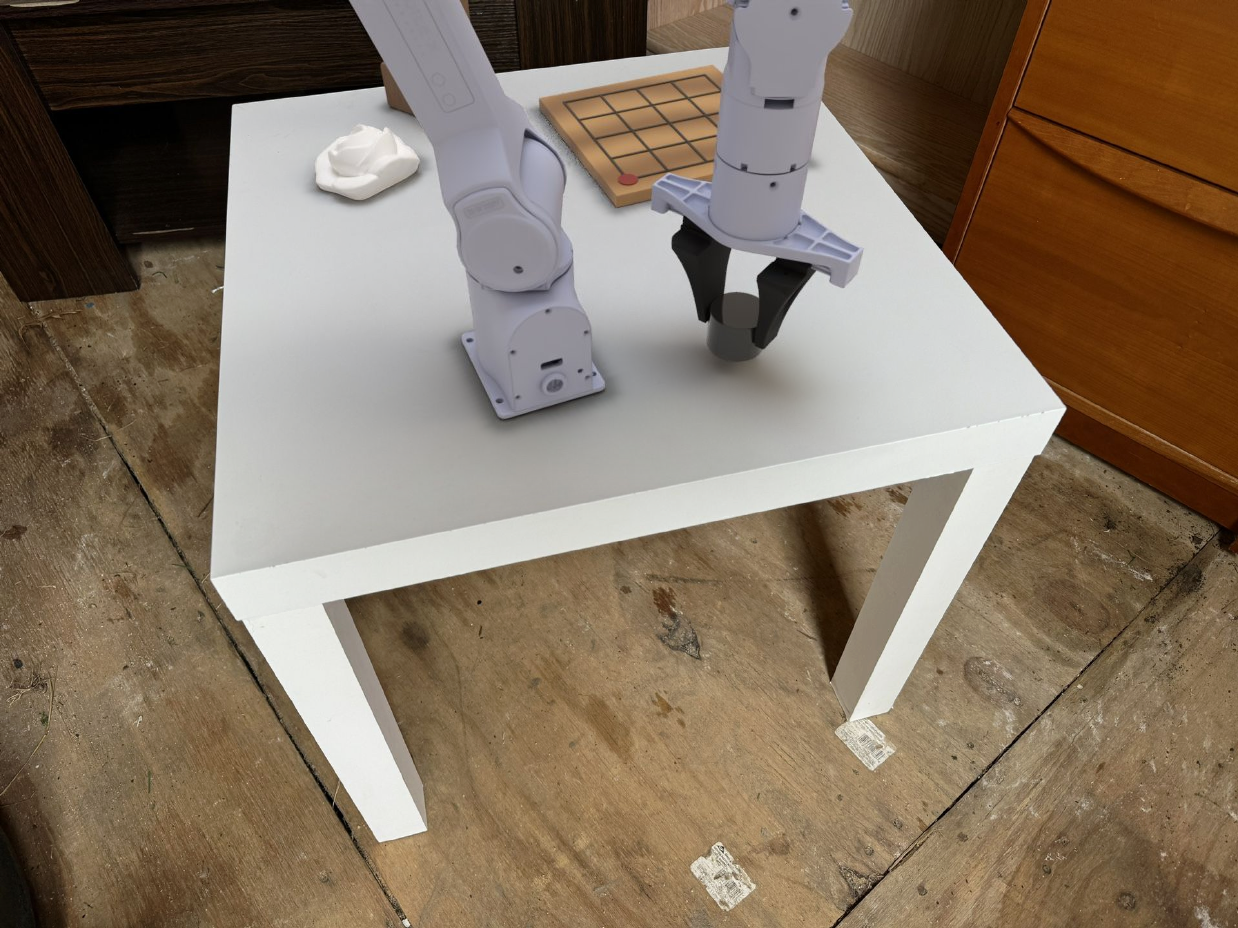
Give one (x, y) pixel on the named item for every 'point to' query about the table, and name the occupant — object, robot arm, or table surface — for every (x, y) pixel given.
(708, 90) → the board
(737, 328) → the dark grey cylinder puck
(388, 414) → the table surface
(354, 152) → the rose
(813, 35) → the robot arm
